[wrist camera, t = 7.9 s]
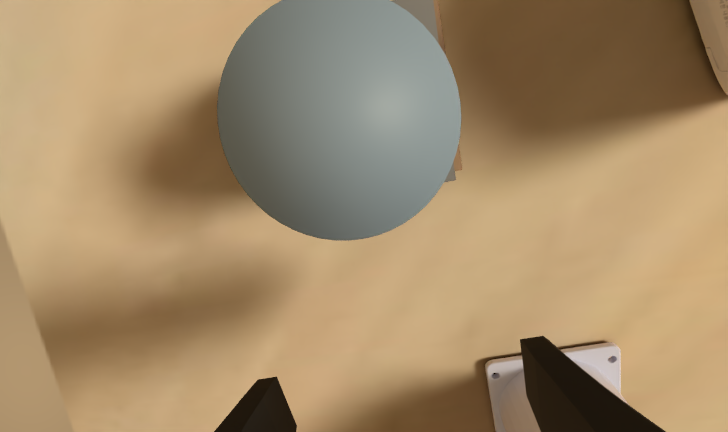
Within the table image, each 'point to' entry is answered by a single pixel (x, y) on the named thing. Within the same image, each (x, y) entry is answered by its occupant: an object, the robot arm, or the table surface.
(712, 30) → the cream book
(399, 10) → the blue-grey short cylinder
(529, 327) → the table surface
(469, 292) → the table surface
